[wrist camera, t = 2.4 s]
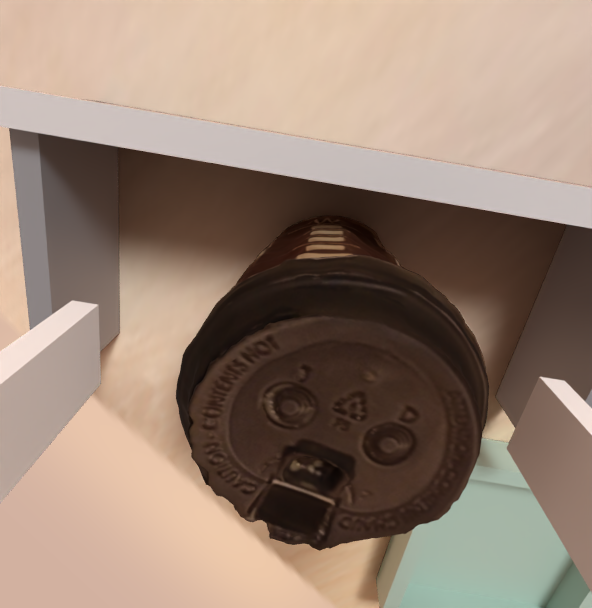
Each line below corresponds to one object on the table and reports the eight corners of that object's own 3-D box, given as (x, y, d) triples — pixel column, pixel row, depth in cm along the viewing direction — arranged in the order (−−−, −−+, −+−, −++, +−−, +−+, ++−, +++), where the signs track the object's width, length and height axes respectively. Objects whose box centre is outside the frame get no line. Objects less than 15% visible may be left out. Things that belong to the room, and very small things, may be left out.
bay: (605, 187, 19) (740, 214, 13) (512, 399, 24) (578, 494, 18) (96, 98, 19) (-14, 83, 13) (102, 329, 24) (24, 400, 18)
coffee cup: (291, 368, 24) (258, 600, 12) (214, 244, 22) (77, 386, 10) (433, 305, 22) (562, 511, 10) (367, 160, 20) (435, 208, 8)
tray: (640, 465, 25) (672, 498, 23) (549, 608, 31) (567, 647, 28) (429, 429, 25) (440, 459, 23) (375, 579, 31) (380, 615, 28)
